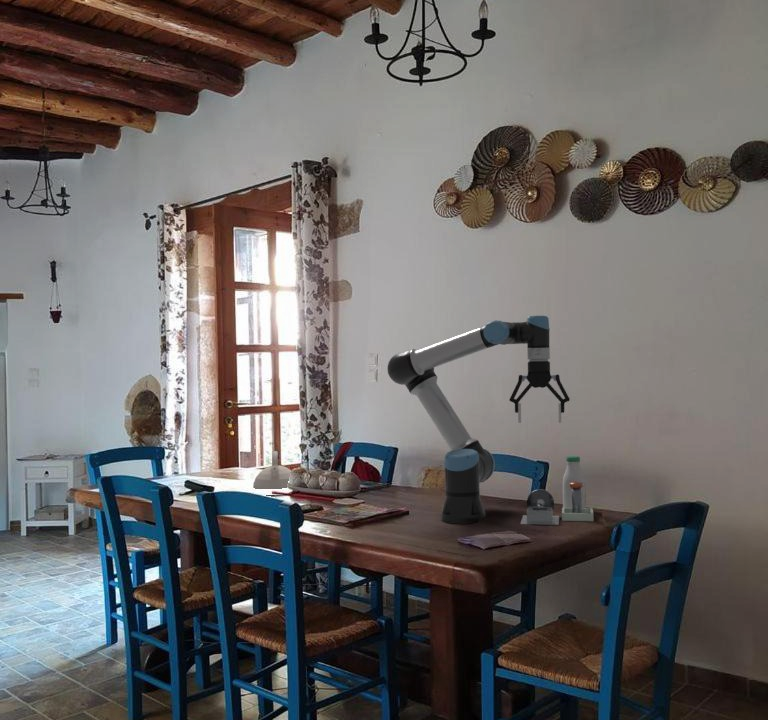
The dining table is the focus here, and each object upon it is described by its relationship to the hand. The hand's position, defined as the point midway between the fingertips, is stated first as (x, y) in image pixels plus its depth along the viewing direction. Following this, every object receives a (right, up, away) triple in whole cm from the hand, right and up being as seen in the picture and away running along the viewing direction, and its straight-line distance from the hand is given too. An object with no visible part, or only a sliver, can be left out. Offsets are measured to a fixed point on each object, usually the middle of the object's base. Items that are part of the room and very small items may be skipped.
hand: (539, 422), depth 275 cm
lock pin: (+10, -31, -10) cm, 35 cm away
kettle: (-100, -36, +71) cm, 128 cm away
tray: (+11, -32, -10) cm, 35 cm away
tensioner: (-2, -32, -12) cm, 34 cm away
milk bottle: (+13, -32, +3) cm, 35 cm away
